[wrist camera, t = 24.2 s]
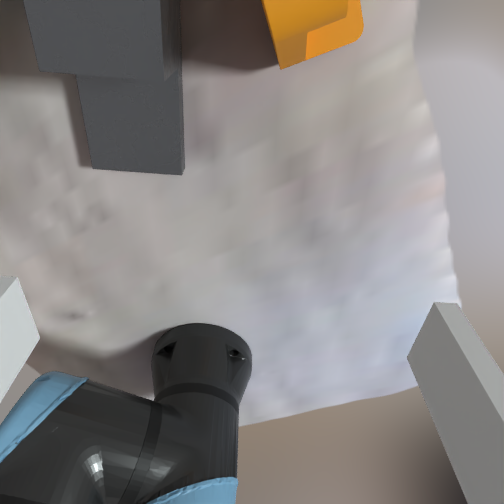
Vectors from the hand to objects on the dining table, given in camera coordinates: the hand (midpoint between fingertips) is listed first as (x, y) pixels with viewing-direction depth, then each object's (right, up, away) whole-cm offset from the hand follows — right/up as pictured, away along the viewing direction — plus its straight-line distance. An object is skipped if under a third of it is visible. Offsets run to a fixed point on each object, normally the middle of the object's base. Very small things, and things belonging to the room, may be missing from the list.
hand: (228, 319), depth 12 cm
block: (-10, +19, +22) cm, 31 cm away
